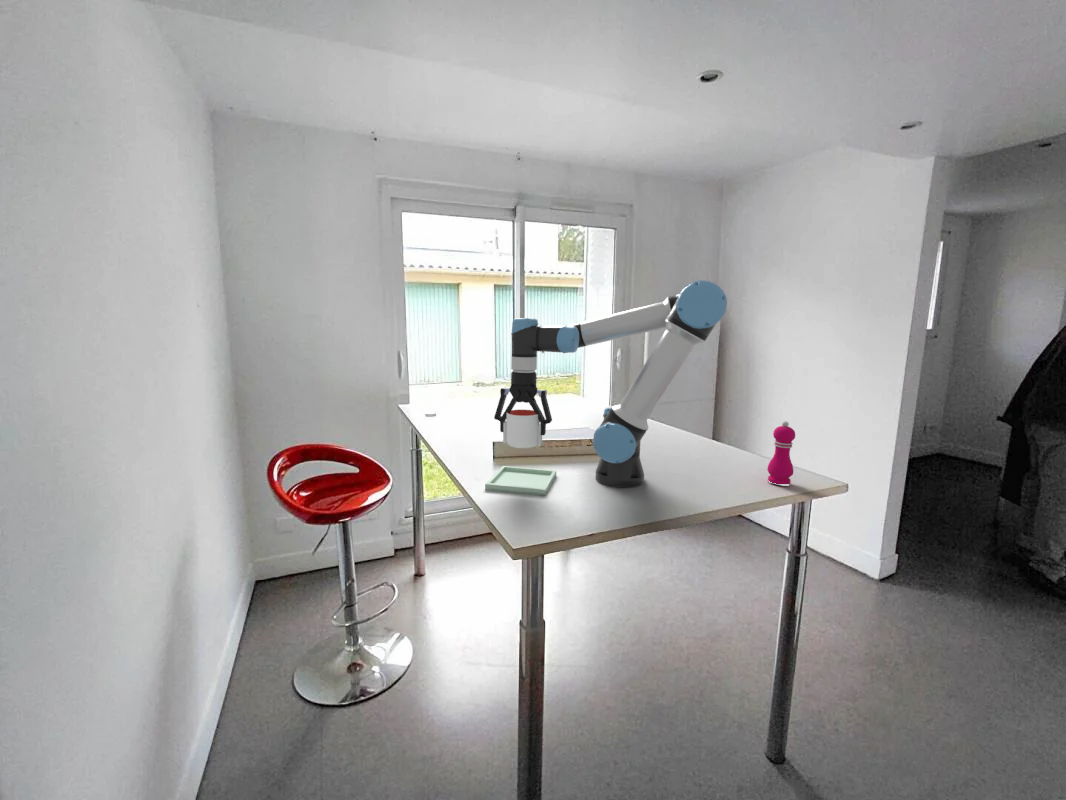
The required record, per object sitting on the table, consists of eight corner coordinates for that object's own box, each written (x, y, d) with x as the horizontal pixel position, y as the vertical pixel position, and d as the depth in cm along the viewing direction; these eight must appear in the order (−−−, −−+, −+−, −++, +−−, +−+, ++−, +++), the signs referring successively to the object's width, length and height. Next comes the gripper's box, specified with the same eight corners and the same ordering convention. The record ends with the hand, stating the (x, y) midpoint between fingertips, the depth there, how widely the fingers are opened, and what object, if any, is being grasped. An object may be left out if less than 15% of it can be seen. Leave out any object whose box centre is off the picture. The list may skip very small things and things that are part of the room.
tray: (556, 475, 150) (556, 470, 149) (545, 495, 132) (545, 489, 132) (502, 471, 154) (502, 465, 153) (485, 489, 136) (485, 483, 136)
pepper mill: (794, 483, 146) (801, 421, 143) (788, 489, 141) (795, 425, 138) (770, 478, 151) (776, 417, 148) (762, 483, 146) (769, 421, 143)
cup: (545, 444, 143) (546, 412, 141) (527, 451, 134) (528, 417, 133) (518, 439, 148) (518, 408, 146) (499, 445, 140) (499, 413, 138)
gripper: (563, 371, 138) (561, 443, 142) (491, 368, 143) (490, 438, 147) (559, 374, 131) (557, 450, 135) (483, 370, 136) (483, 444, 140)
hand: (522, 443), depth 141 cm, fingers closed on cup, 10 cm apart
